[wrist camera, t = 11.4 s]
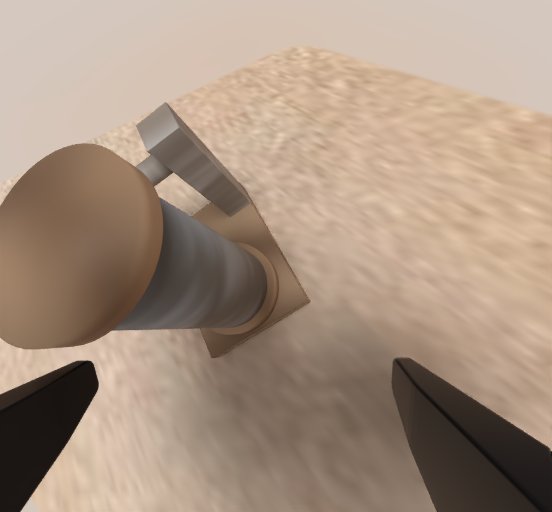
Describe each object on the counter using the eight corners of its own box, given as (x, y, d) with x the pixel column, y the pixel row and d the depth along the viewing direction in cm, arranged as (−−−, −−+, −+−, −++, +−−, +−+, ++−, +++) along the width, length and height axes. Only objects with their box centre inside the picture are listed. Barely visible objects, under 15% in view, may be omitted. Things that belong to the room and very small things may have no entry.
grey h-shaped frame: (310, 301, 20) (258, 280, 10) (218, 356, 21) (98, 381, 12) (244, 188, 24) (164, 99, 14) (170, 239, 25) (52, 188, 15)
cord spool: (255, 350, 19) (63, 395, 7) (185, 310, 21) (-48, 293, 9) (293, 264, 20) (175, 170, 8) (221, 235, 22) (43, 127, 10)
